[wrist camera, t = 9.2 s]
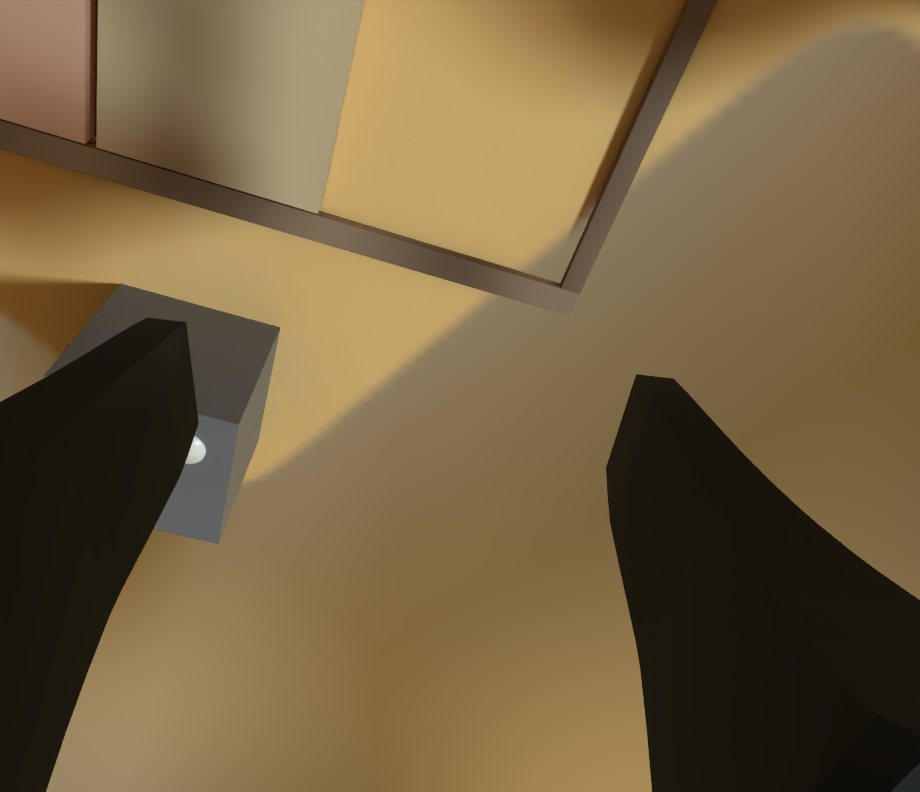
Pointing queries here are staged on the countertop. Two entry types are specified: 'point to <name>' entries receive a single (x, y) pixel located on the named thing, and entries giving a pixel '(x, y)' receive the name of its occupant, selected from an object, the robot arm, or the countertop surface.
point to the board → (252, 117)
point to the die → (201, 399)
